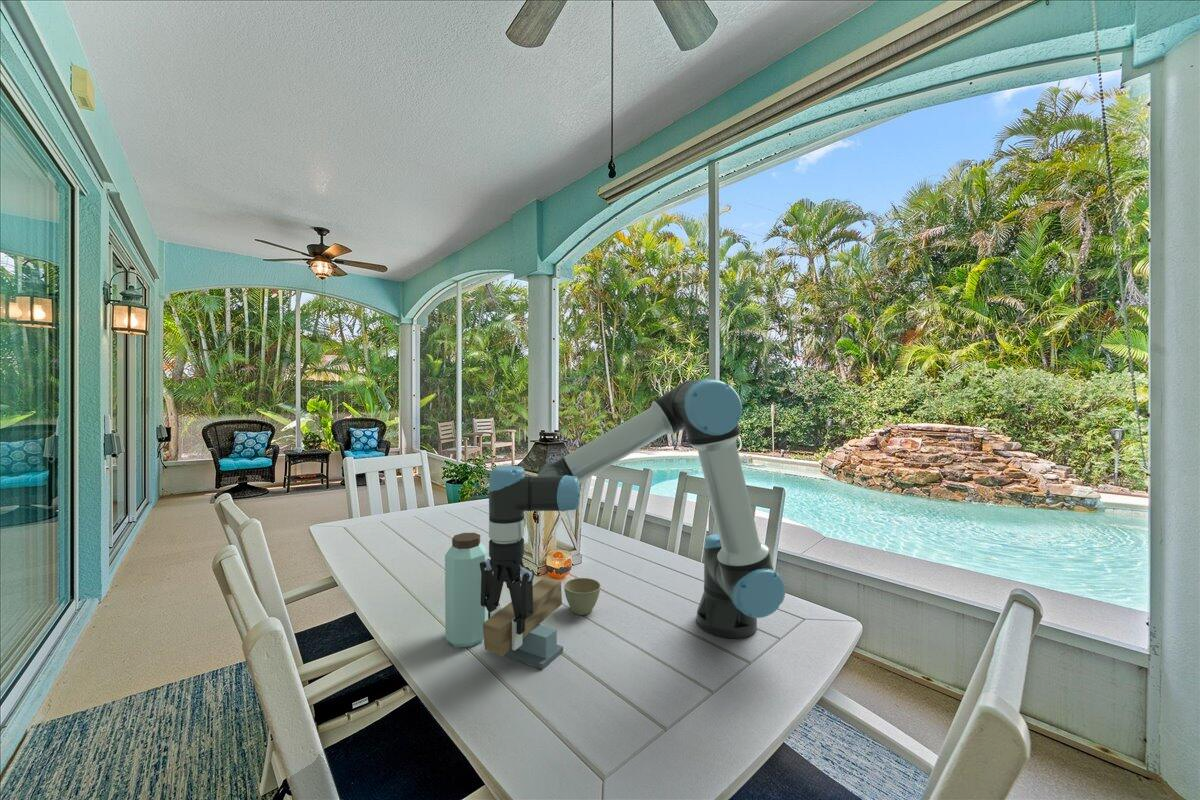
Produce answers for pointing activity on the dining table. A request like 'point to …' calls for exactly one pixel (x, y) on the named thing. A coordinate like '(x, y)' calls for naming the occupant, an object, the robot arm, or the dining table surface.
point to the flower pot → (582, 594)
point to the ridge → (538, 647)
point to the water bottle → (464, 591)
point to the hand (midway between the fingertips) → (506, 642)
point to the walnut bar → (543, 605)
